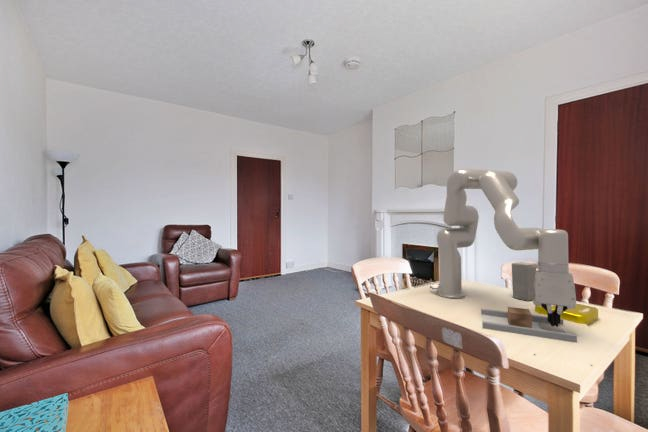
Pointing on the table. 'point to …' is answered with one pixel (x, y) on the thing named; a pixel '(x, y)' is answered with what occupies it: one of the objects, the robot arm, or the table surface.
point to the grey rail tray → (500, 323)
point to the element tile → (575, 314)
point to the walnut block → (519, 317)
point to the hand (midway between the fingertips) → (553, 324)
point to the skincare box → (523, 280)
